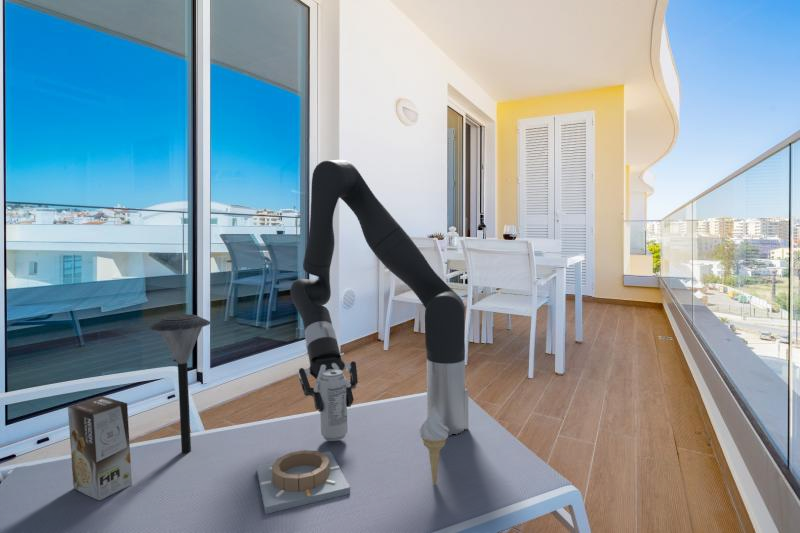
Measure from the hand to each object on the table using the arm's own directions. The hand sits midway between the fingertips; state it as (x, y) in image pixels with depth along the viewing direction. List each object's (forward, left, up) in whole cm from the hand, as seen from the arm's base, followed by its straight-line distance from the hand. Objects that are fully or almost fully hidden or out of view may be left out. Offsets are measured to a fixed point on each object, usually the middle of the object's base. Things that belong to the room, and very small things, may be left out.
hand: (335, 407), depth 101 cm
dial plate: (+10, +12, -9) cm, 18 cm away
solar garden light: (+31, -11, -9) cm, 34 cm away
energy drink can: (0, -2, -7) cm, 8 cm away
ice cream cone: (-13, +23, -9) cm, 28 cm away
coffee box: (+45, -2, -9) cm, 46 cm away
